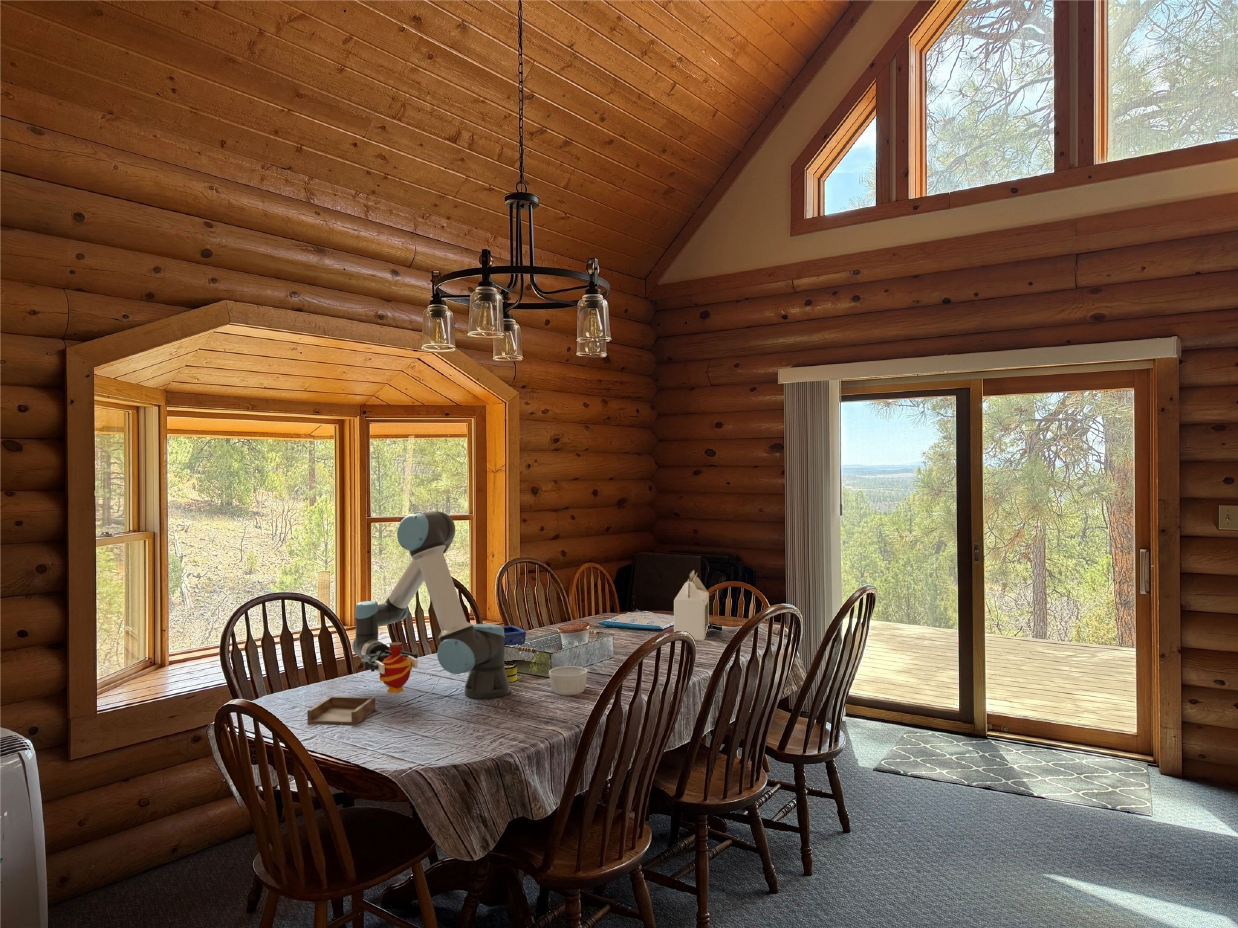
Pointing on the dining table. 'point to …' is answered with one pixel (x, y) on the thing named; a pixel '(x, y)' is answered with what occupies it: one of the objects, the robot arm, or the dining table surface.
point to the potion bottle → (395, 669)
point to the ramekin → (568, 680)
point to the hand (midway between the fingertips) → (400, 666)
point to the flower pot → (514, 635)
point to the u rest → (341, 710)
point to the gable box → (692, 608)
